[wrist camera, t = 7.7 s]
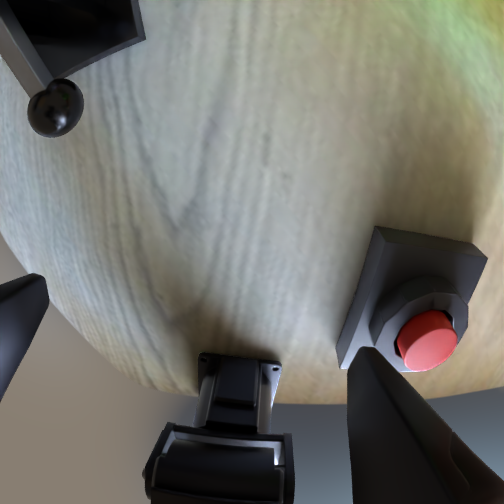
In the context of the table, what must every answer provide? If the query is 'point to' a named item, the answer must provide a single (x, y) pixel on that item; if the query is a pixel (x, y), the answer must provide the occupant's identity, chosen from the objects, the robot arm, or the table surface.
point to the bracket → (78, 30)
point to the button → (426, 340)
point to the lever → (38, 81)
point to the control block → (408, 290)
